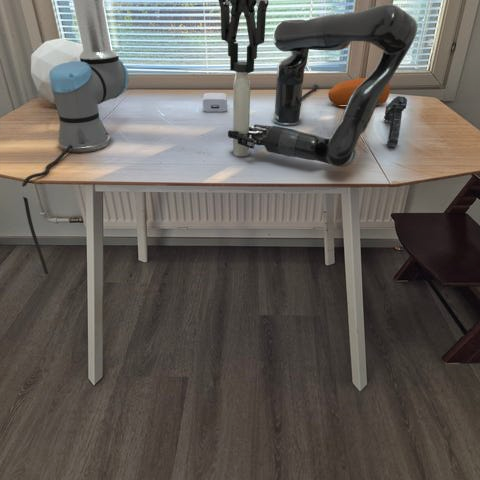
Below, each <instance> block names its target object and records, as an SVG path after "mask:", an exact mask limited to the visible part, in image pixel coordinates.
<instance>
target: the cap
mask: <svg viewBox="0 0 480 480" xmlns="http://www.w3.org/2000/svg"><path fill="white" fill-rule="evenodd" d="M246 70H247V61H243V60H242V61H241V60H240V61H239V60H238V62H234V70H233V71H234V72H235V73H236V72H246Z"/></svg>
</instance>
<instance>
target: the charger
mask: <svg viewBox="0 0 480 480" xmlns="http://www.w3.org/2000/svg"><path fill="white" fill-rule="evenodd" d="M202 110H203V111H204V112H206V113H207V112H209V113H210V112H211V113H215V112H216V113H218V112H220V113H222V112H227V111H228V95H227V93H225V92H206V93H204V94H203V98H202Z"/></svg>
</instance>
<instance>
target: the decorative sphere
mask: <svg viewBox="0 0 480 480" xmlns="http://www.w3.org/2000/svg"><path fill="white" fill-rule="evenodd" d="M82 51H83V46H82V44H81V43H79V42H76V41H72V40H69V39H64V38H61V37H60V38H55V39H51V40H50V39H49V40H46V41H44V42H42V44H40V46H38V47H37V49H35V51H33V53H31V58H30V60H31V61H30V76H31V79H32V80H33V83H34V86H35V88H36V90H37V91H38V92H39V93H40V94H41V95H42V96H43V97H44V98H46V99H47V100H48V101H49V102H50V103H51V104H55V105H56V103H55V99H54V95H53V92H52V88H51V81H50V76H49V74H50V71H51V70H52V69H53V68H54V67H55V66H57V65H60V64H63V63H69V62H74V61H80V54H81V53H82ZM80 62H81V61H80Z"/></svg>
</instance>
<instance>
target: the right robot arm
mask: <svg viewBox="0 0 480 480" xmlns="http://www.w3.org/2000/svg"><path fill="white" fill-rule="evenodd" d="M272 33H273V34H272V41H273V44H274V46H275V47H276V48H277V49H278V50H279V51H281V52H283V53H284V52H285V53H289V54H288V56H287V57H286V58H284V59H282V60H281V61H279V62H278V64H277V67H276V68H277V69H276V87H275V100H274V101H275V102H274V114H273V122H274V124H276V125H263V124H253V125H249V131H248V132H247V133H245V132H238V131H233V129H229V130H227V137H228V138H229V139H232V140H233V139H237V140H238V144H240V145H243V146H246V147H248V148H249V149H254V148H255V146H264V148H265V150H266V152H267V153H271V154H275V155H276V154H277V155H280V156H284V157H290V158H298V159H303V160H305V161H306V160H307V161H316V162H320V163H324V164H327V165H331V166H333V167H338V168H346V167H349V166H351V165H352V164H353V163H354V162H355V161H356V159H357V154H358V153H357V149H356V145H357V144H358V141H359V139H360V137H361V135H363V133H364V132H365V131H366V130H367V128H368V126H369V123H370V121H371V119H372V117H373V114H374V112H375V109H376V108H377V105H378V104H377V103H378V101H379V99H380V97H381V95H382V93H383V91H384V89H385V88H386V86H387V84H388V83H389V84H390V81H391V80H392V78H393V76H394V75H395V73H396V72H397V70H398V68H399V67H400V65H401V63H402V62H403V60H404V59H405V57H406V55H407V53H408V52H409V50H410V49H411V46H412V45H413V43H414V41H415V38H416V36H417V34H418V23H417V20H416V19H415V18H414V17H413V16H412V15H410V13H407V12H406V11H405V10H403V9H402V8H401V7H399V6H398V5H395V4H393V3H386V4H381V5H378V6H377V5H376V6H372V7H370V8H367V9H366V8H365V9H364V10H360V11H351V12H344V13H333V14H327V15H323V16H318V17H314V18H309V19H306V20H305V19H285V20H282V21H280V22H278V23H277V25H276V26H275V27H274V29H273V32H272ZM353 42H365V43H370V44H372V45H374V46H375V47H377V48H378V49H380V50H382V53H381V56H380V59H379V61H378V63H377V64H376V67H375V68H374V70H373V71H372V72H371V73H370V74H369V76H368V78H367V77H366V78H367V79H366V80H365V81H364V82H362V83H361V84H360V85H359V86H358V87H357V89H356V90H355V91H354V92H353V94H352V95H351V97H350V99H349V101H348V103H347V106H346V108H344V111H343V113H342V115H341V118H340V121H339V124H338V125H337V127H336V128H335V130H334V131H333V133H332V135H331V137H330V138H326V137H322V136H320V135H318V134H317V135H316V134H313V133H309V132H304V131H301V130H297V129H293V128H290V127H292V126H296V125H298V124H300V122H301V121H300V118H301V109H302V108H301V106H302V101H303V99H305V98H306V97H307V96H308V95H310V94H311V93H312V92H314V91H316V90H317V89H318V84H317V85H315V84H314V88H312V89H311V90H309V91H308V92H306V93H304V94H303V87H304V77H305V69H306V66H307V65H308V60H309V59H308V58H309V51H310V50H313V51H327V52H331V51H333V52H334V51H341V50H342V51H343V50H345V49H346V48H348V47H349V46H350V45H351V44H352V43H353ZM277 125H280V126H277ZM284 126H287V127H288V126H289V128H287V127H284ZM244 135H245V136H244ZM246 136H247V137H246Z"/></svg>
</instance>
